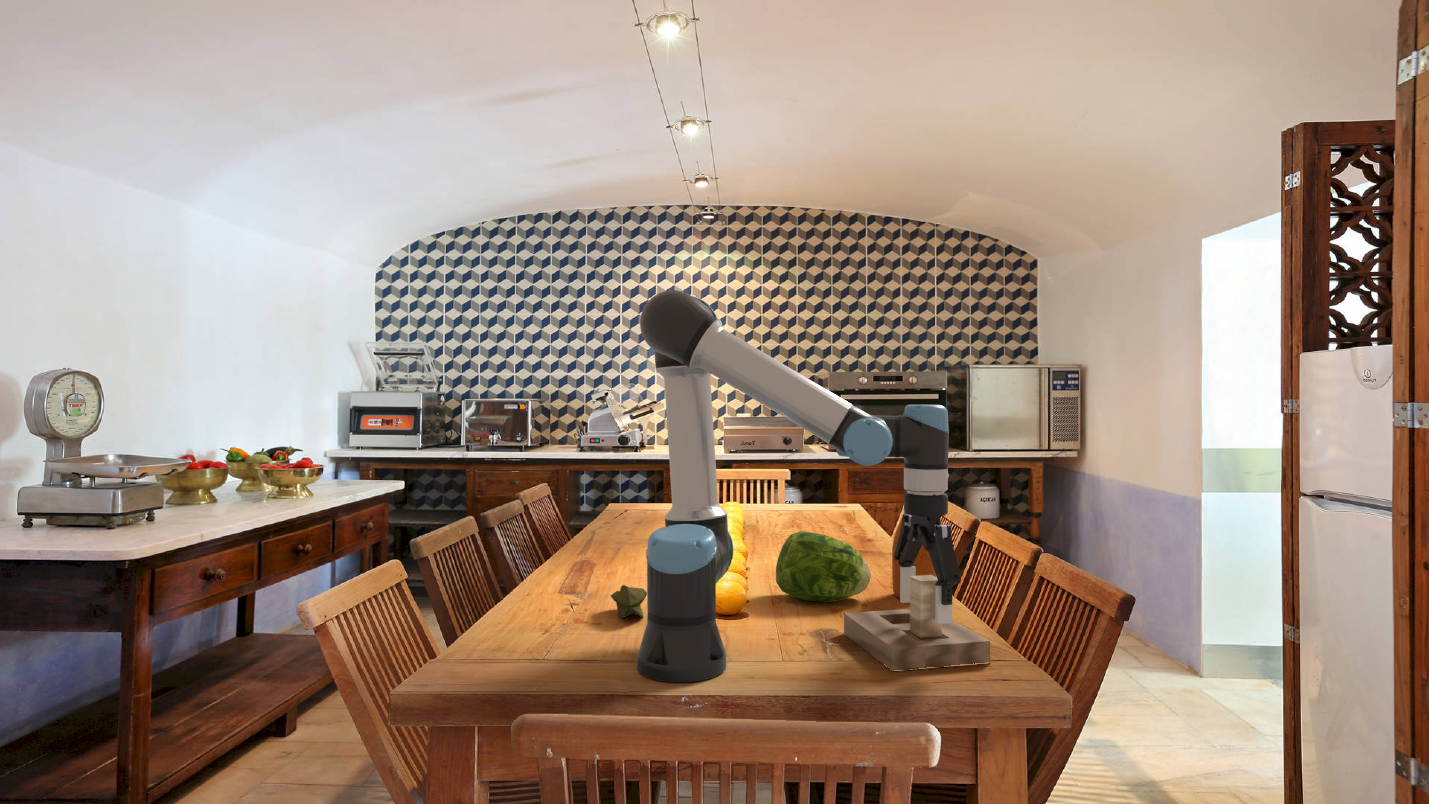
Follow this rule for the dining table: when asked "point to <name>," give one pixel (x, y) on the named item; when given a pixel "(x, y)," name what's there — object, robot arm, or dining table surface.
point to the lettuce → (820, 568)
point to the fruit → (629, 600)
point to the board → (913, 641)
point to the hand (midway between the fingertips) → (924, 612)
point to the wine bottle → (922, 566)
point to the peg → (923, 608)
